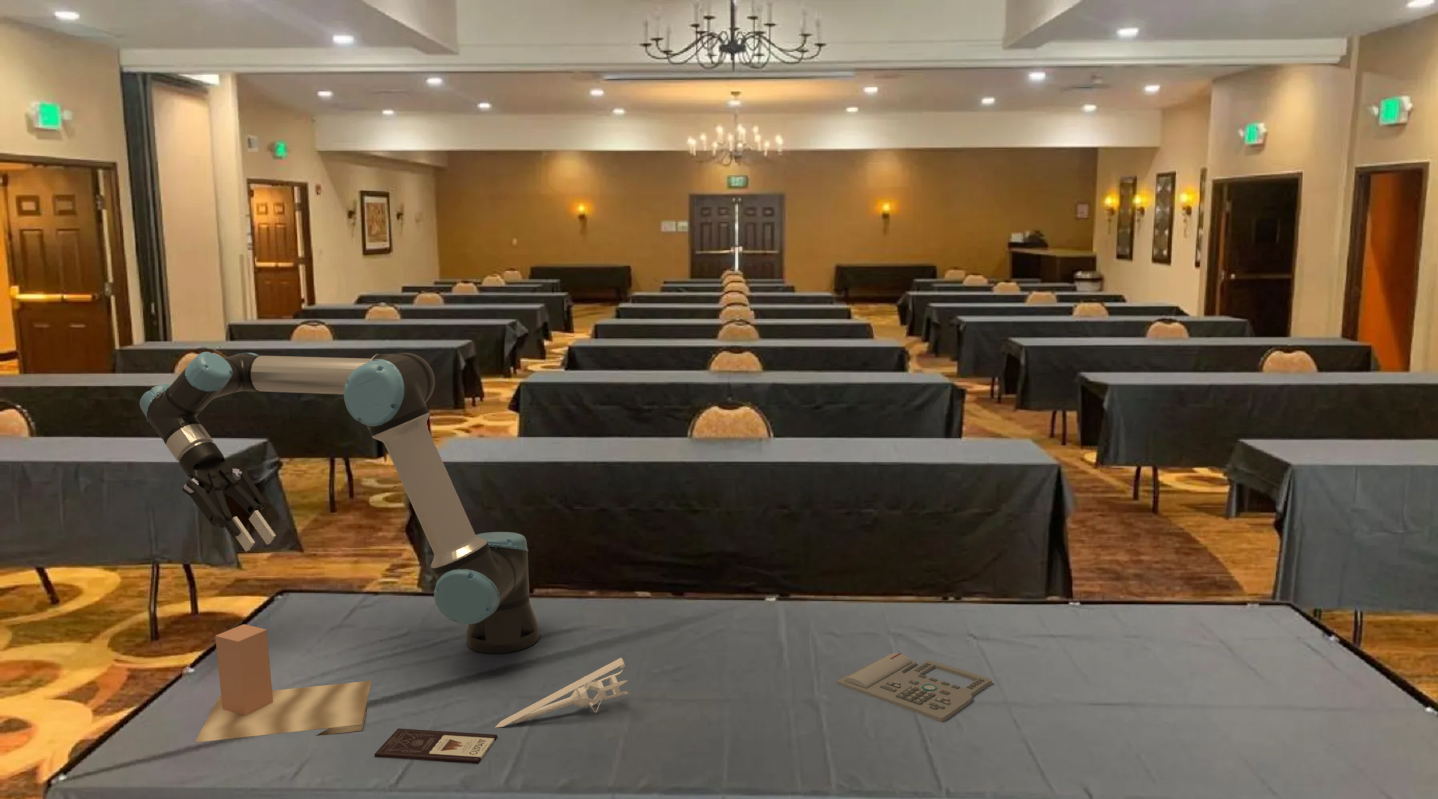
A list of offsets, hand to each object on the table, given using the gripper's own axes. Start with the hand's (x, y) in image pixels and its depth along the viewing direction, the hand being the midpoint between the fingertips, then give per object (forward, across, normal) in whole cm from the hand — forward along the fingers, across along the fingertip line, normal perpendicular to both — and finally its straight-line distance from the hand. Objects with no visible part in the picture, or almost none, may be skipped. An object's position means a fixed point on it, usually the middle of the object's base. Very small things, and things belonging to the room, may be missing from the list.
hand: (260, 543), depth 207 cm
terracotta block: (+25, +14, -10) cm, 31 cm away
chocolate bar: (+55, +9, +17) cm, 58 cm away
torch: (+64, -11, +26) cm, 70 cm away
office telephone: (+101, -50, +63) cm, 129 cm away
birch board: (+32, +12, -5) cm, 35 cm away
